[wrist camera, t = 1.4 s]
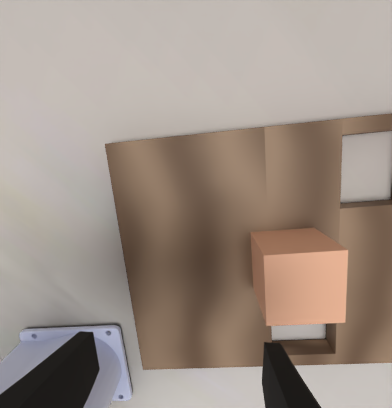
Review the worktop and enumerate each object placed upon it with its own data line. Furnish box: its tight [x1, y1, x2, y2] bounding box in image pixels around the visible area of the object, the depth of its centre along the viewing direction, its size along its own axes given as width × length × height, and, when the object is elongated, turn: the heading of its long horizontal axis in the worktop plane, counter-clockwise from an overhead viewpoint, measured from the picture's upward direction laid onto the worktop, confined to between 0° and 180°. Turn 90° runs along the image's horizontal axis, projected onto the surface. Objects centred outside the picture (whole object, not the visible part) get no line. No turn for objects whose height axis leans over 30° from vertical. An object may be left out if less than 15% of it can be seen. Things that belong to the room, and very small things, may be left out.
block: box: [251, 228, 348, 326], centre depth 15 cm, size 4×4×4 cm
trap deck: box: [105, 114, 392, 370], centre depth 17 cm, size 25×19×2 cm
